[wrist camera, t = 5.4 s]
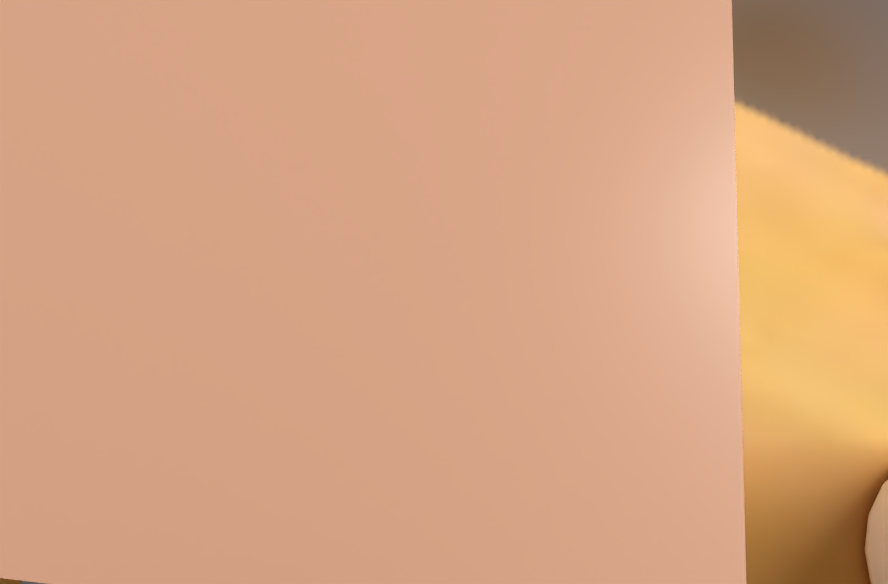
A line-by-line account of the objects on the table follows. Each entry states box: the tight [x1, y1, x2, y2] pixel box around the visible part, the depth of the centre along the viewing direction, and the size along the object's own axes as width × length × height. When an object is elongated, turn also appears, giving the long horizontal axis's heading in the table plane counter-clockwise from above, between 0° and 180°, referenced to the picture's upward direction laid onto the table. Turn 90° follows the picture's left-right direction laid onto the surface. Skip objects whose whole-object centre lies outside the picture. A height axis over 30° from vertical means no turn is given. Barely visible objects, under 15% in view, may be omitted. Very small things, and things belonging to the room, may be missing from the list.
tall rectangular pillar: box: [0, 0, 746, 584], centre depth 10 cm, size 5×5×14 cm
